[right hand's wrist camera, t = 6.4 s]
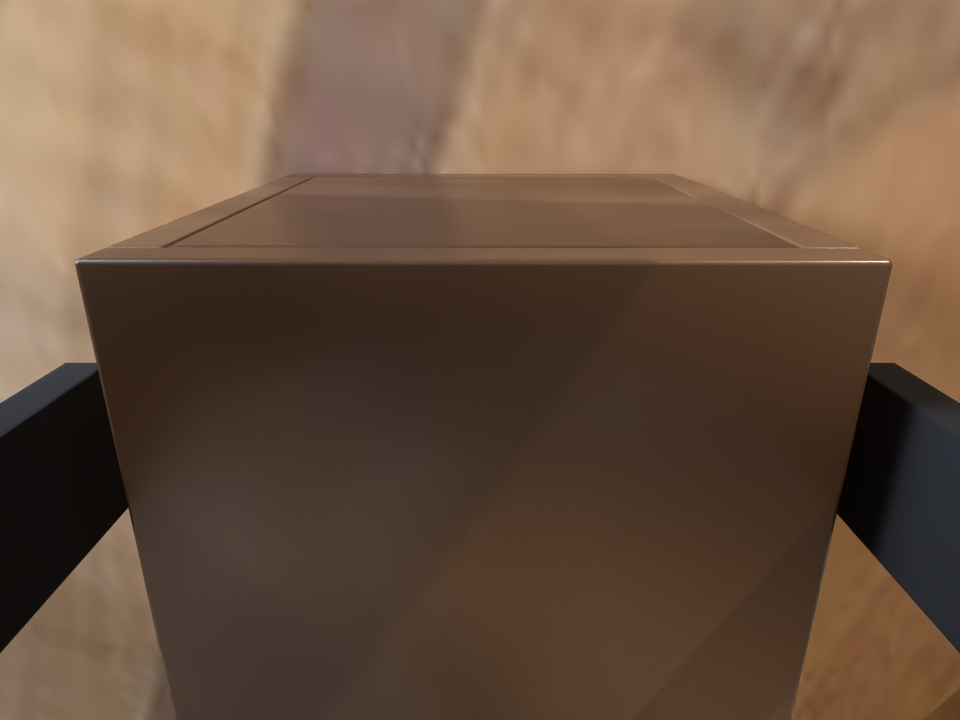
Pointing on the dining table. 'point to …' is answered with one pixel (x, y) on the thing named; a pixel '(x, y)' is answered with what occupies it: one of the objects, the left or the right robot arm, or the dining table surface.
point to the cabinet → (483, 444)
